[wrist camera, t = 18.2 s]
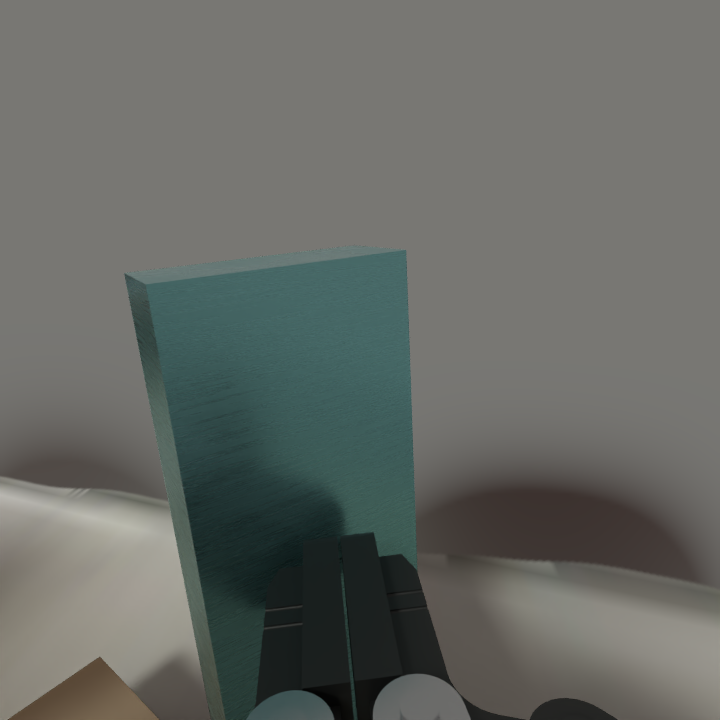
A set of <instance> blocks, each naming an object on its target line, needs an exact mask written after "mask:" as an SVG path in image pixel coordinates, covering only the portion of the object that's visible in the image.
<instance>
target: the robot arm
mask: <svg viewBox="0 0 720 720" xmlns="http://www.w3.org/2000/svg"><path fill="white" fill-rule="evenodd" d="M340 541H341V552H342V563H343V575H344V586H345V597H346V608H347V619H348V629H349V639H350V649H351V660H352V670H353V680H354V690H355V700H356V711H357V720H524V719H518V718H513V717H507V716H502V715H497V714H493V713H489V712H487V711H484V710H482V709H480V708H478V707H476V706H474V705H472V704H471V703H470V702H468V701H467V700H466V699H465V698H463V697H462V696H461V695H460V694H459V693H458V691H457V690H456V689H455V688H454V686H453V684H452V683H451V681H450V679H449V676H448V674H447V671H446V667H445V664H444V661H443V657H442V654H441V651H440V647H439V644H438V641H437V637H436V634H435V630H434V627H433V624H432V620H431V617H430V614H429V610H428V609H427V604H426V600H425V597H424V594H423V592H422V587H421V584H420V580H419V577H418V573H417V570H416V569H415V568H414V566H413V565H412V564H411V563H410V562H409V561H408V560H407V559H406V558H405V557H404V556H403V555H402V554H397V555H388V556H380V557H379V555H378V550H377V545H376V540H375V535H374V532H369V533H360V534H351V535H343V536H340ZM246 720H354V715H353V704H352V693H351V682H350V671H349V660H348V649H347V638H346V627H345V616H344V605H343V594H342V583H341V572H340V561H339V550H338V539H337V536H335V537H327V538H318V539H309V540H303V566H297V567H289V568H280V569H279V570H278V572H277V573H276V575H275V577H274V578H273V580H272V581H271V583H270V584H269V586H268V588H267V597H266V607H265V617H264V631H263V636H262V646H261V656H260V666H259V675H258V685H257V695H256V702H255V708H254V710H253V711H252V712H251V713H250V715H249V716H248V718H247V719H246ZM530 720H617V719H616V718H614V717H613V716H611V715H609V714H608V713H606V712H605V711H603V710H601V709H600V708H598V707H596V706H594V705H592V704H589V703H587V702H584V701H580V700H577V699H569V698H559V699H554V700H550V701H548V702H545V703H543V704H542V705H540V706H539V707H538V708H537V709H536V710H535V711H534V712H533V714H532V716H531V717H530Z"/></svg>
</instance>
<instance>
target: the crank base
mask: <svg viewBox="0 0 720 720" xmlns="http://www.w3.org/2000/svg"><path fill="white" fill-rule="evenodd" d="M8 720H159V719H158V718H157V717H156V716H155V715H154V713H153V712H152V711H151V710H150V709H149V708H148V707H147V706H146V705H145V704H144V703H143V702H142V701H141V700H140V699H139V698H138V697H137V695H136V694H135V693H134V692H133V691H132V690H131V689H130V688H129V687H128V686H127V685H126V684H125V683H124V682H123V681H122V680H121V679H120V677H119V676H118V675H117V674H116V673H115V672H114V671H113V670H112V669H111V668H110V667H109V666H108V665H107V664H106V663H105V662H104V661H103V659H102V658H101V657H99V658H97V659H96V660H94V661H93V662H91V663H90V664H88V665H87V666H86V667H84V668H83V669H81V670H80V671H78V672H77V673H75V674H74V675H72V676H71V677H69V678H68V679H66V680H65V681H64V682H62V683H61V684H59V685H58V686H56V687H55V688H53V689H52V690H50V691H49V692H47V693H46V694H45V695H43V696H42V697H40V698H39V699H37V700H36V701H34V702H33V703H31V704H30V705H28V706H27V707H25V708H24V709H23V710H21V711H20V712H18V713H17V714H15V715H14V716H12V717H11V718H9V719H8Z"/></svg>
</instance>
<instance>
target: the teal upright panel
mask: <svg viewBox="0 0 720 720" xmlns="http://www.w3.org/2000/svg"><path fill="white" fill-rule="evenodd" d="M406 263H407V262H406V250H401V249H390V248H389V249H388V248H378V247H366V246H347V247H337V248H329V249H321V250H312V251H304V252H296V253H287V254H279V255H271V256H262V257H254V258H246V259H237V260H229V261H221V262H212V263H205V264H196V265H187V266H180V267H171V268H162V269H154V270H146V271H138V272H129V273H124V275H125V280H126V285H127V290H128V295H129V301H130V306H131V311H132V316H133V321H134V326H135V331H136V337H137V342H138V346H139V352H140V357H141V362H142V367H143V373H144V378H145V382H146V388H147V393H148V398H149V403H150V409H151V413H152V418H153V424H154V429H155V434H156V439H157V444H158V450H159V454H160V460H161V465H162V470H163V475H164V480H165V485H166V491H167V496H168V501H169V506H170V511H171V516H172V522H173V527H174V532H175V537H176V542H177V547H178V552H179V558H180V563H181V568H182V573H183V578H184V583H185V588H186V593H187V599H188V604H189V609H190V614H191V619H192V624H193V629H194V635H195V640H196V645H197V650H198V655H199V660H200V665H201V671H202V676H203V681H204V686H205V691H206V696H207V701H208V707H209V712H210V717H211V720H246V719H247V718H248V716H249V715H250V713H251V712H252V711H253V710H254V708H255V702H256V695H257V685H258V675H259V666H260V656H261V646H262V636H263V631H264V617H265V607H266V597H267V588H268V586H269V584H270V583H271V581H272V580H273V578H274V577H275V575H276V573H277V572H278V570H279V569H280V568H289V567H297V566H303V540H309V539H318V538H327V537H335V536H337V539H338V550H339V561H340V572H341V583H342V594H343V605H344V616H345V627H346V638H347V649H348V660H349V671H350V682H351V693H352V704H353V715H354V720H357V711H356V700H355V690H354V680H353V670H352V660H351V649H350V639H349V629H348V619H347V608H346V597H345V586H344V575H343V563H342V552H341V541H340V536H343V535H351V534H360V533H369V532H374V535H375V540H376V545H377V550H378V555H379V557H380V556H388V555H397V554H402V555H403V556H404V557H405V558H406V559H407V560H408V561H409V562H410V563H411V564H412V565H413V566H414V568H415V569H416V570H417V550H416V549H417V548H416V519H415V492H414V463H413V435H412V434H413V433H412V406H411V376H410V348H409V319H408V293H407V264H406Z"/></svg>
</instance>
